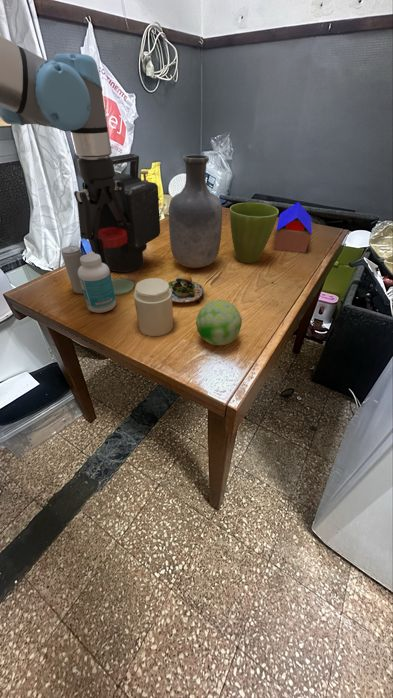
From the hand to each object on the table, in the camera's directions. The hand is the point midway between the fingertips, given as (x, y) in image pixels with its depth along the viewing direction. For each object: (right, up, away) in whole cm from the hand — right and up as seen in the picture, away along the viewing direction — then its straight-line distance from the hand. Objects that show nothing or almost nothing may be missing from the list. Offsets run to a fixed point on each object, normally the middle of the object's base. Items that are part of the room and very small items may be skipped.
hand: (113, 256), depth 77 cm
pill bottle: (-3, -14, -1) cm, 14 cm away
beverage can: (-10, -8, +5) cm, 14 cm away
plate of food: (+18, -10, +3) cm, 21 cm away
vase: (+22, +3, +18) cm, 29 cm away
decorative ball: (+27, -23, -11) cm, 37 cm away
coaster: (0, -7, +6) cm, 9 cm away
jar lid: (0, +4, -4) cm, 6 cm away
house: (+59, +17, +34) cm, 70 cm away
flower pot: (+40, +6, +22) cm, 46 cm away
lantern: (0, +3, +17) cm, 17 cm away
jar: (+12, -19, -7) cm, 24 cm away
